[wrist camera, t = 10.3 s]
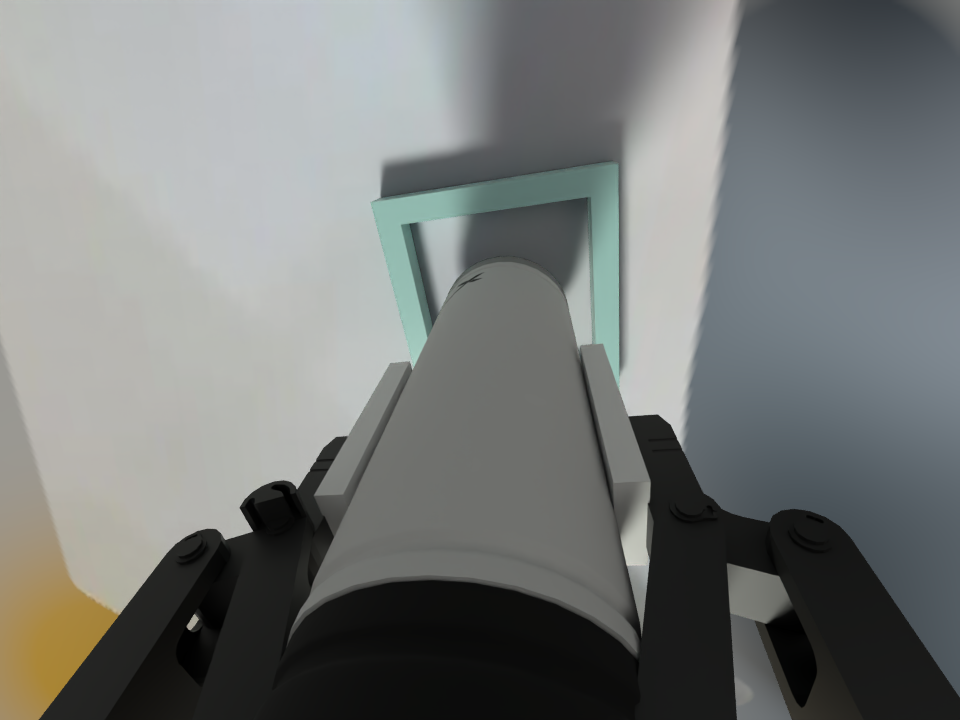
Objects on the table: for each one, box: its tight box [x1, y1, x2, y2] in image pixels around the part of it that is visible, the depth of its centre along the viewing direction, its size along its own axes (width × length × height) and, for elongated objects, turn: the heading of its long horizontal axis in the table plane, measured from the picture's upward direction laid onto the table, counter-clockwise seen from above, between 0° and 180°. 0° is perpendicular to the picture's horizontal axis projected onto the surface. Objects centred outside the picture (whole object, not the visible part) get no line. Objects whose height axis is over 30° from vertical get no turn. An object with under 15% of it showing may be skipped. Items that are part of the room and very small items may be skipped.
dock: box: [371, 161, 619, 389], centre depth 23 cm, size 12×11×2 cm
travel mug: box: [253, 256, 642, 720], centre depth 13 cm, size 6×7×20 cm
